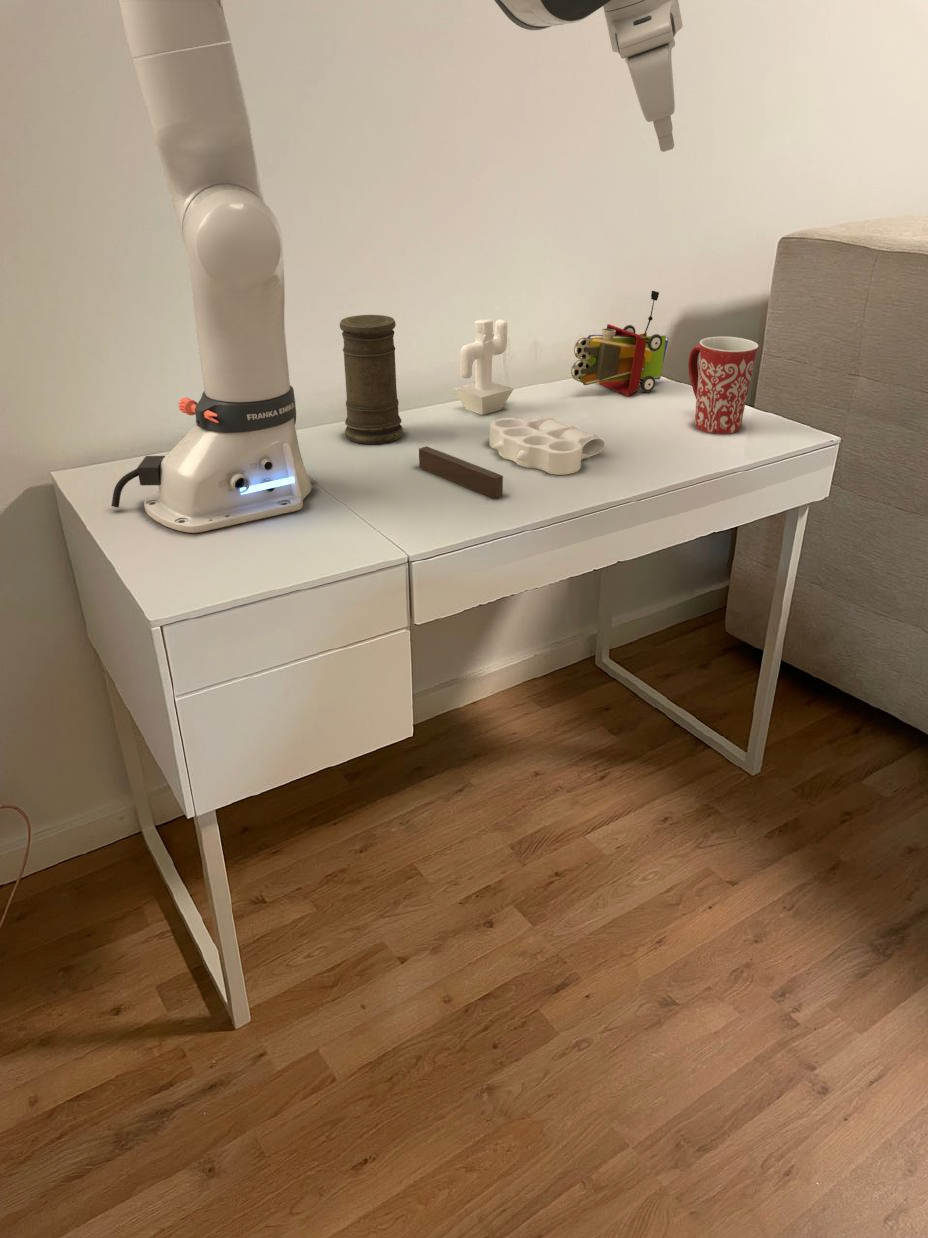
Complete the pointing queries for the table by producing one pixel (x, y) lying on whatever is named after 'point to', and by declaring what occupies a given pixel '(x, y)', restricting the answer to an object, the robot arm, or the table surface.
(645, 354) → the robot toy
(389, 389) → the container
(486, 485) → the bar
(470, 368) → the figurine
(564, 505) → the table surface
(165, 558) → the table surface
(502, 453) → the cream flat holed block
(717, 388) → the mug
